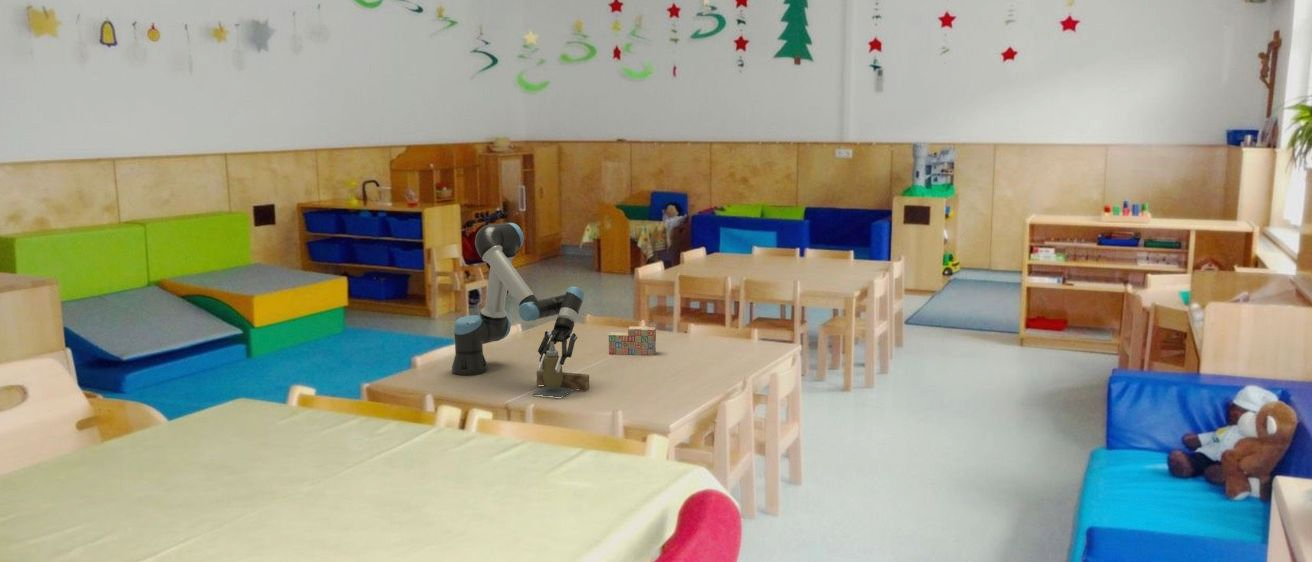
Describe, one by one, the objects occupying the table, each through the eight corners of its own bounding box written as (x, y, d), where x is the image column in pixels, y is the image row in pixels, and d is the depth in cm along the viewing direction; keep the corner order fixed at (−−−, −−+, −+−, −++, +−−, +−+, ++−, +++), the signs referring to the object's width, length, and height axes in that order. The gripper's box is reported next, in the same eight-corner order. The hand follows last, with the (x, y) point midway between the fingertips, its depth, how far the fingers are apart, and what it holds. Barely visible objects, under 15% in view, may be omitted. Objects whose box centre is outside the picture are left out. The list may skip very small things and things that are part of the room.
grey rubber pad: (560, 398, 379) (560, 396, 379) (532, 396, 383) (532, 393, 383) (573, 390, 390) (573, 388, 390) (546, 388, 394) (546, 385, 394)
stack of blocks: (608, 354, 451) (608, 328, 449) (610, 351, 457) (610, 325, 455) (654, 355, 448) (654, 329, 446) (656, 352, 454) (655, 326, 452)
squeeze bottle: (553, 390, 380) (552, 345, 377) (538, 387, 385) (537, 342, 382) (567, 385, 387) (566, 341, 384) (552, 382, 391) (551, 338, 389)
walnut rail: (589, 389, 392) (589, 374, 391) (586, 391, 389) (586, 376, 388) (540, 384, 400) (539, 370, 399) (536, 386, 397) (536, 371, 396)
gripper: (590, 328, 393) (574, 377, 381) (547, 325, 400) (529, 373, 388) (584, 317, 388) (568, 367, 375) (540, 314, 394) (523, 363, 382)
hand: (548, 370), depth 381 cm, fingers closed on squeeze bottle, 6 cm apart
